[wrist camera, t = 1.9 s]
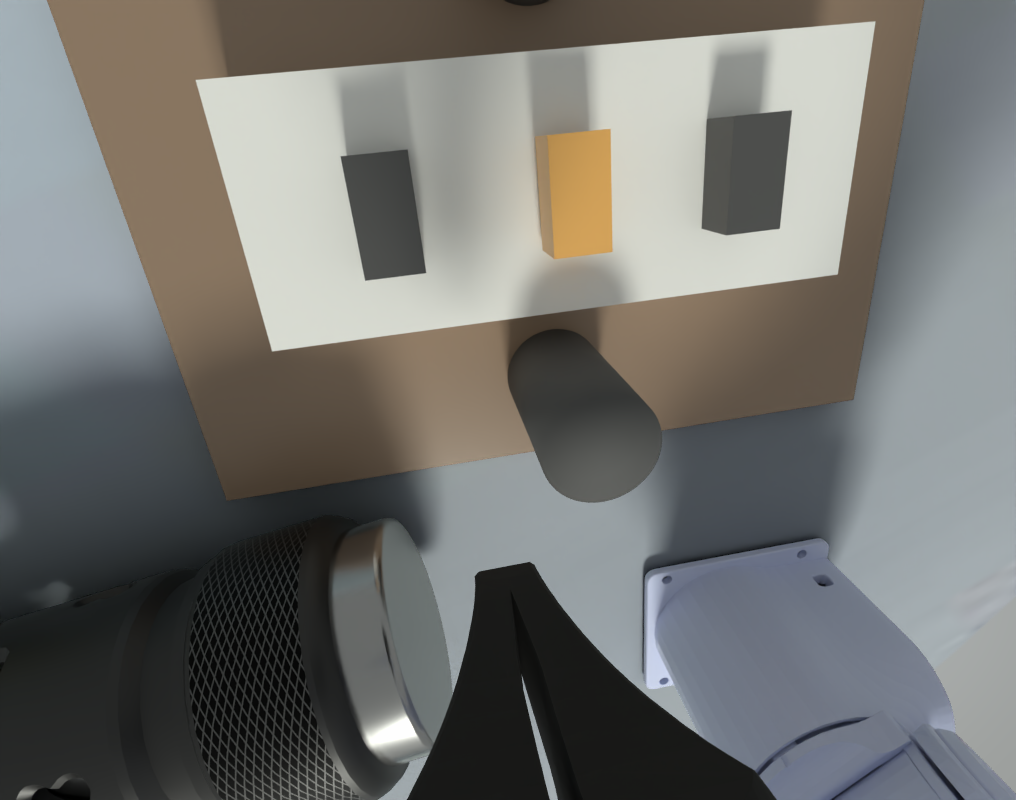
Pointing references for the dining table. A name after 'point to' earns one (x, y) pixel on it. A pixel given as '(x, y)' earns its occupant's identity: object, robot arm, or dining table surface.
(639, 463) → the post
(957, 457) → the dining table surface
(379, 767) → the muzzle brake
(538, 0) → the post
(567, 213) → the orange block
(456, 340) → the breaker panel
